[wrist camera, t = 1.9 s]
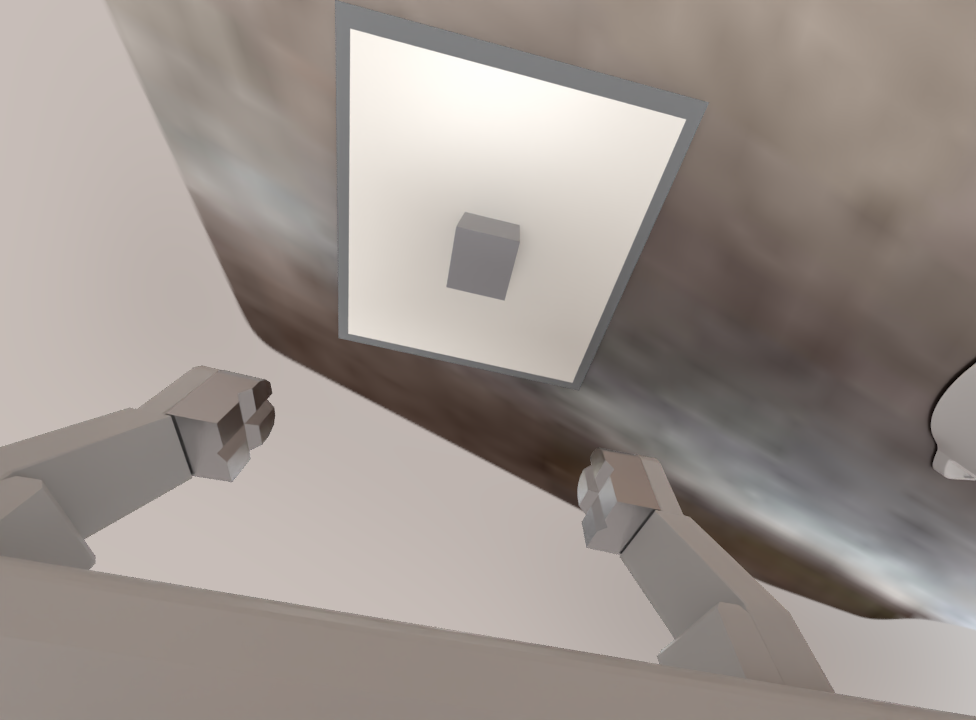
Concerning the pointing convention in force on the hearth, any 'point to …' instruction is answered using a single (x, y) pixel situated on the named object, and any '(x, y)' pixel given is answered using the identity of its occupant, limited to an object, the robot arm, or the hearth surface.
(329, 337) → the hearth surface
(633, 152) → the cover sheet
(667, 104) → the charcoal mat
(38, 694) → the robot arm
